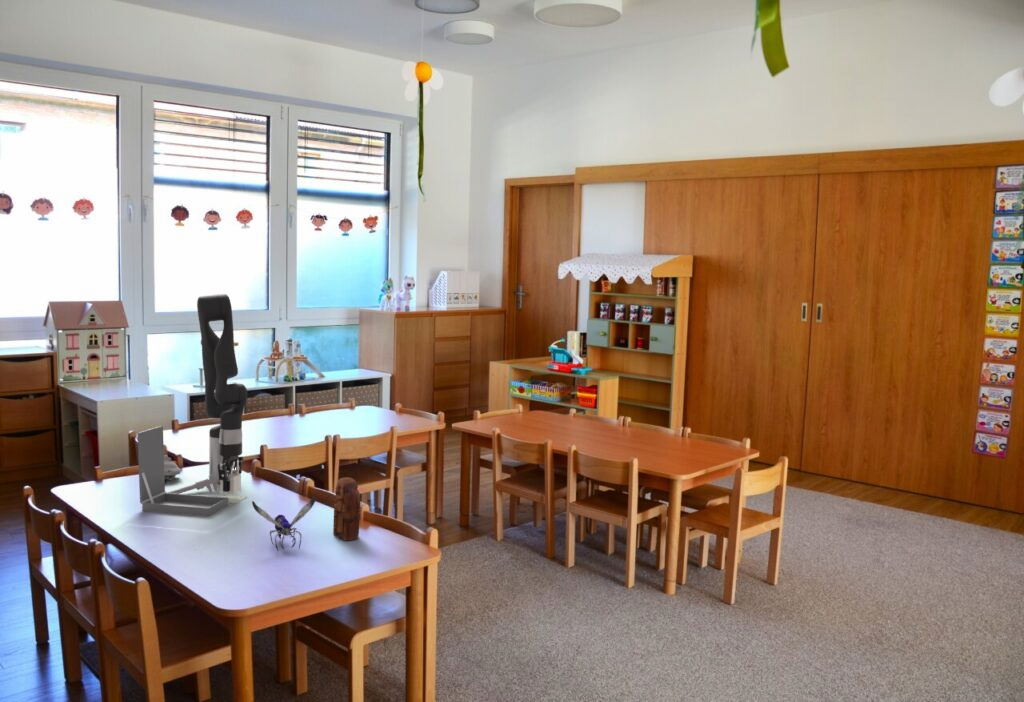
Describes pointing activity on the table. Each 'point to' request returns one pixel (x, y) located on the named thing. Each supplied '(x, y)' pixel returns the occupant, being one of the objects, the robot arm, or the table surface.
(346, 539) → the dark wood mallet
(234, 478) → the block
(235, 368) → the robot arm
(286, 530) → the mechanical insect
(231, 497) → the mat
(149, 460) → the equipment case
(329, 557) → the table surface
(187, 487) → the caliper
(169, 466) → the grey clay mound
